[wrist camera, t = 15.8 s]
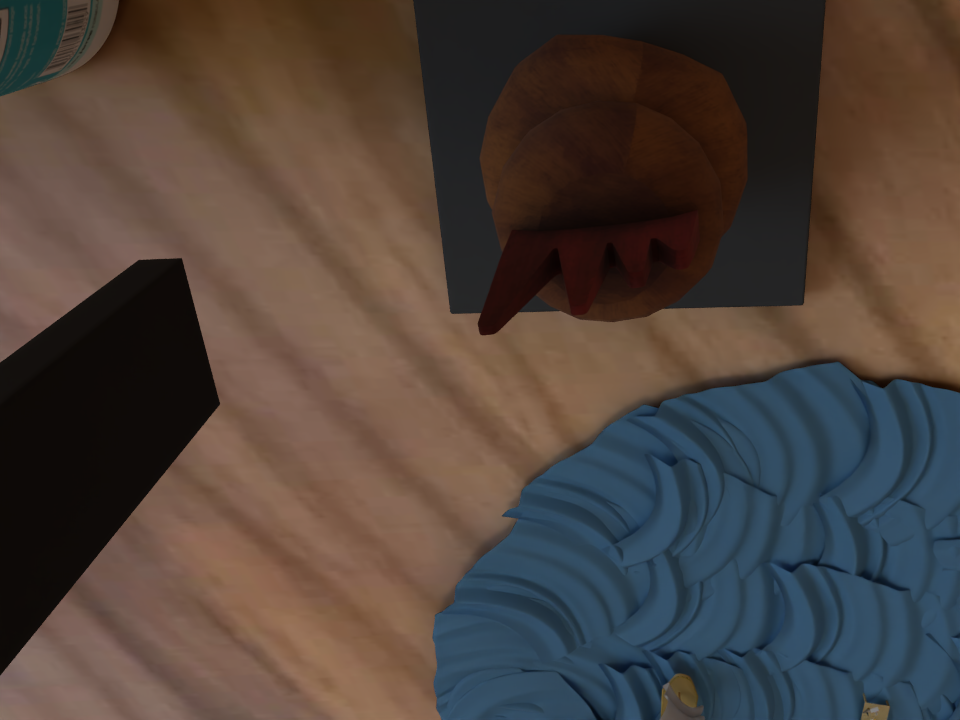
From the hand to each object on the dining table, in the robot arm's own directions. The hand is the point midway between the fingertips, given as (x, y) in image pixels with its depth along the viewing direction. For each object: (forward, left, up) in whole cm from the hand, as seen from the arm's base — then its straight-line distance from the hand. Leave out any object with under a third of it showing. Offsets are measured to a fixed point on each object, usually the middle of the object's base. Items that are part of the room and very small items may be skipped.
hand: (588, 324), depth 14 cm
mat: (0, 0, -17) cm, 17 cm away
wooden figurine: (0, 0, -16) cm, 16 cm away
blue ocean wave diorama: (+24, +6, -17) cm, 30 cm away
